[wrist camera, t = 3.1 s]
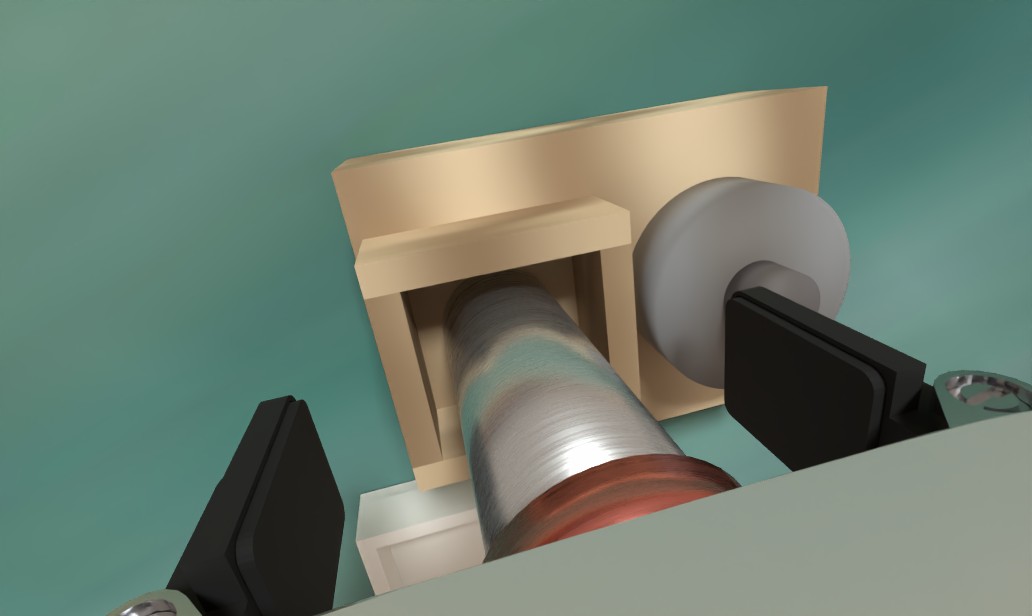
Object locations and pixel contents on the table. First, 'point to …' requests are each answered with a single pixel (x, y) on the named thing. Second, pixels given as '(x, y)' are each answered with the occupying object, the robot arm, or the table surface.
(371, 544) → the tray
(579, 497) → the pin
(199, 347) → the table surface
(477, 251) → the wooden base with socket
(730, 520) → the robot arm
